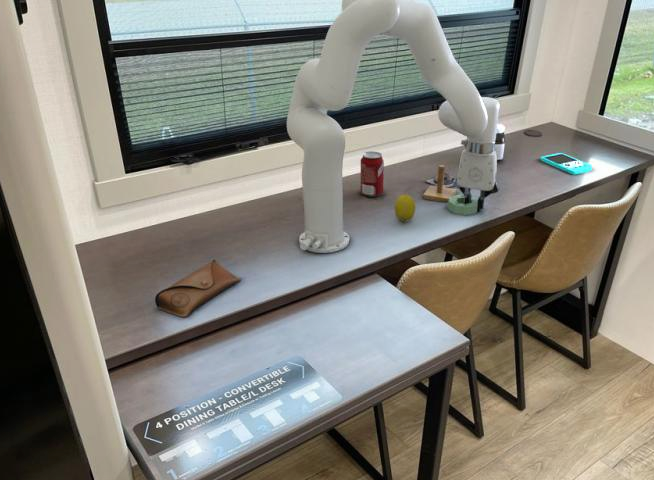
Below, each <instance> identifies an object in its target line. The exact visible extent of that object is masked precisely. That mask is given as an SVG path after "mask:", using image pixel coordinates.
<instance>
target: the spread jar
mask: <svg viewBox="0 0 654 480" xmlns="http://www.w3.org/2000/svg"><path fill="white" fill-rule="evenodd" d="M505 129H506V126H505V125H503V124H502V123H498V124H497V132H496V140H495V148H494V151H496V155H497V164H499V163H501V162H502V161H503V159H504V151H505V143H506V135H505Z"/></svg>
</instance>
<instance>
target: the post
mask: <svg viewBox="0 0 654 480" xmlns="http://www.w3.org/2000/svg"><path fill="white" fill-rule="evenodd" d="M437 169H438V170H437V171H438V172H437V174H438V181H437V186H435V185H433V184H430V185H429V187H428V188H427V189H426V190H425V191H424V193H423V194H422V199H424V200H431V201H437V202H443V203H448V200H449V199H450V197H451V196H456V193H457V188H452V187H446V188H445V187H443V183H444V173H445V170H446V165H444V164H439V165H438V167H437Z"/></svg>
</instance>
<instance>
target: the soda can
mask: <svg viewBox="0 0 654 480" xmlns="http://www.w3.org/2000/svg"><path fill="white" fill-rule="evenodd" d="M384 177H385V160H384V158H383V154H382V153H381V152H378V151H366V152H365V151H364V152H363V153H362V157H361V158H360V193H361V194H362V195H364V196H365V197H368V198H376V197H379V196H381V195H383V194H384V182H385V181H384V179H385V178H384Z"/></svg>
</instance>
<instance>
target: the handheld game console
mask: <svg viewBox="0 0 654 480" xmlns="http://www.w3.org/2000/svg"><path fill="white" fill-rule="evenodd" d="M540 161H541V162H543V163H545V164H548V165H550V166H551V167H555V168H557V169H558V170H562V171H563V172H566V173H568V174H571V175H573V176H575V175H579V174H584V173H588V172H590V171H592V170H593V169H592V168H593V165H591V164H590V163H587V162H585V161H582V160H579V159H577V158H575V157H572V156H571V155H567V154H565V153H563V152H558V153H554V154H549V155H544V156H540Z"/></svg>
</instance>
